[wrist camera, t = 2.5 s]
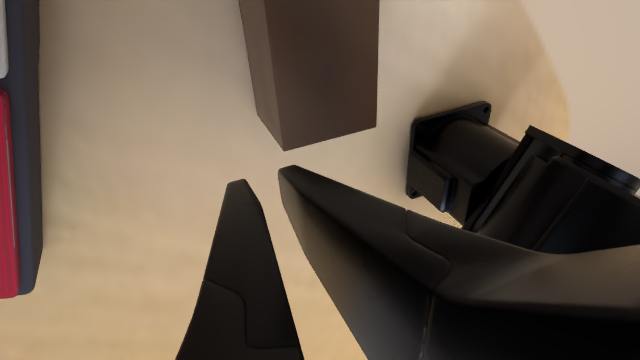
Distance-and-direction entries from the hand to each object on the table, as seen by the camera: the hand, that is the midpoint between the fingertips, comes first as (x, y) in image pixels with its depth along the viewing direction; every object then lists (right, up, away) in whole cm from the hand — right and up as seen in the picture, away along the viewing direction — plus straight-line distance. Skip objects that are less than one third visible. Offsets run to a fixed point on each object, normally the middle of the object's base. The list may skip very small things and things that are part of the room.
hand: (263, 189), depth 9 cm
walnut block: (0, +8, +11) cm, 14 cm away
